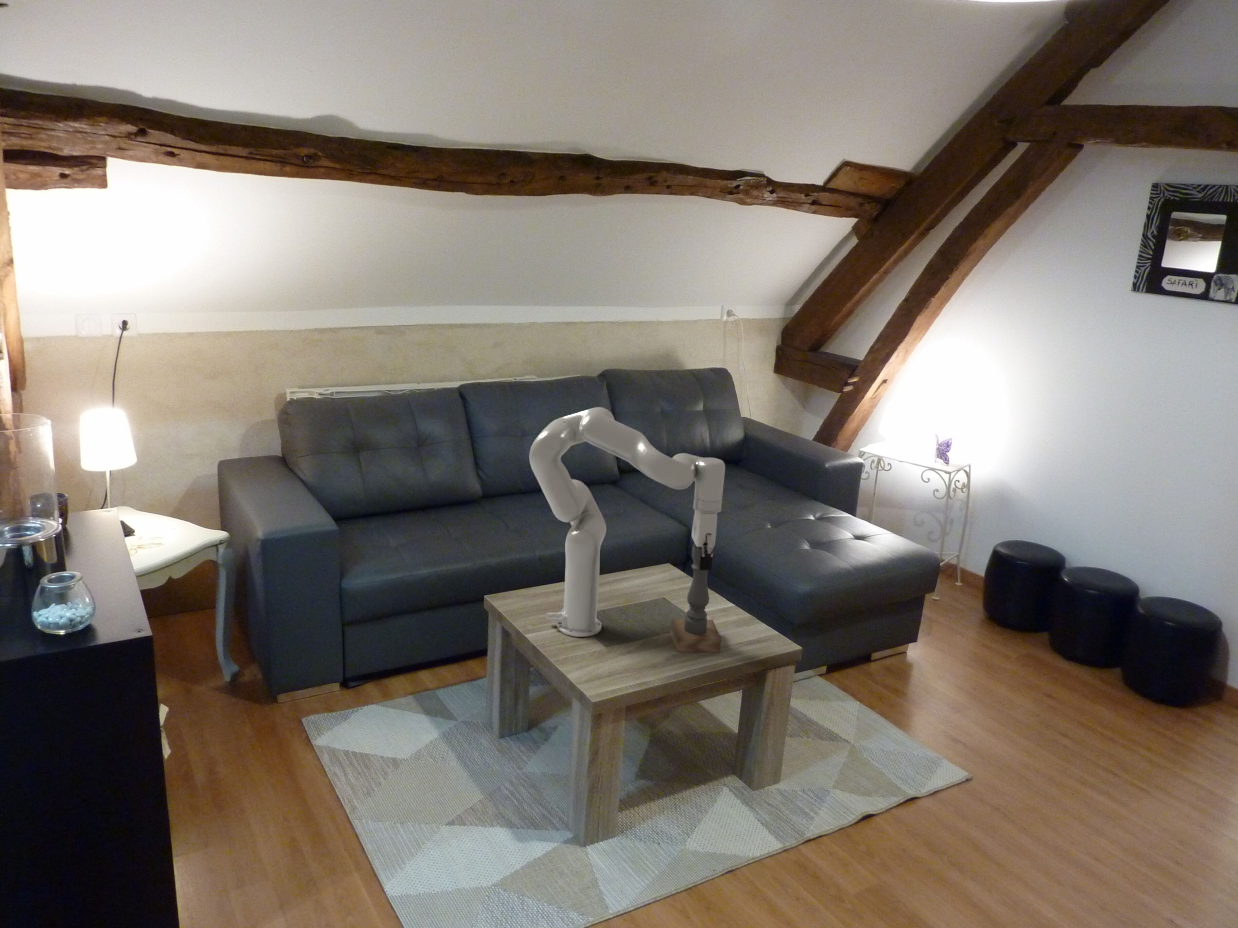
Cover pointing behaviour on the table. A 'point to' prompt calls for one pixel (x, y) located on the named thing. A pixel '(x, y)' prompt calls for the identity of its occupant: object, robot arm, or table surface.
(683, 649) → the walnut plinth
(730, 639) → the table surface
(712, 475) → the robot arm
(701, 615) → the candle holder
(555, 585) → the table surface
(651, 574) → the table surface
